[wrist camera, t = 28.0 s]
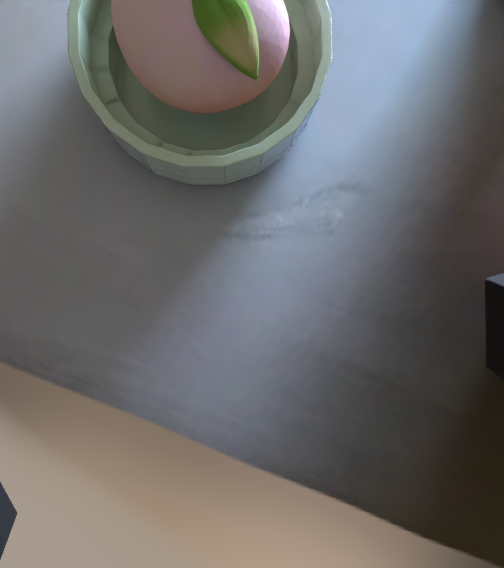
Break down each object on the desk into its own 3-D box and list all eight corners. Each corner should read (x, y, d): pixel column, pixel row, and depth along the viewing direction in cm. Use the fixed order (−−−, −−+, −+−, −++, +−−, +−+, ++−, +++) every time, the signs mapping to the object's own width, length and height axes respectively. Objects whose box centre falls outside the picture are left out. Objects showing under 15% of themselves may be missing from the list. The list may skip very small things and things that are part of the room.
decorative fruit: (104, 59, 28) (36, -68, 18) (202, -24, 28) (189, -192, 18) (203, 172, 28) (190, 110, 18) (299, 89, 28) (338, -16, 18)
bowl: (67, 147, 28) (32, 117, 23) (134, -62, 29) (114, -135, 24) (277, 214, 29) (288, 200, 24) (341, 11, 29) (364, -46, 24)
